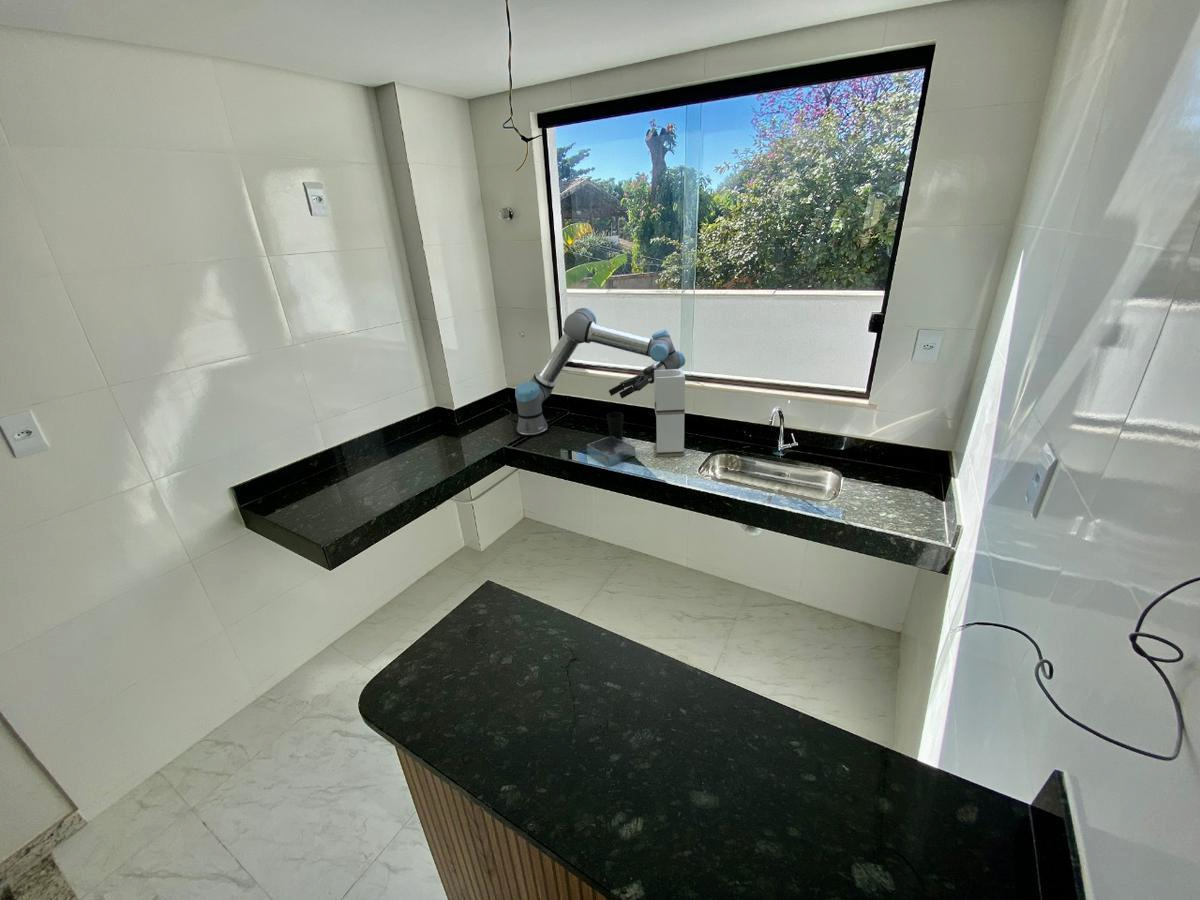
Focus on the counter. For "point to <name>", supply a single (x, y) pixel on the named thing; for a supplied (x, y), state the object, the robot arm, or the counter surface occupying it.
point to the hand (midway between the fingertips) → (615, 394)
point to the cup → (615, 424)
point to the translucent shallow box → (610, 450)
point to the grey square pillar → (669, 411)
